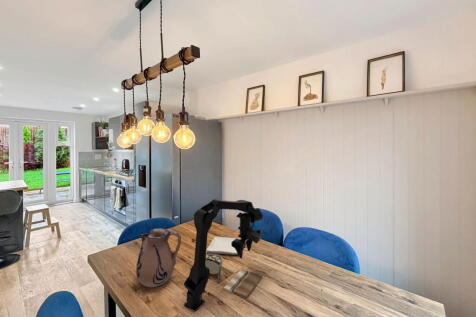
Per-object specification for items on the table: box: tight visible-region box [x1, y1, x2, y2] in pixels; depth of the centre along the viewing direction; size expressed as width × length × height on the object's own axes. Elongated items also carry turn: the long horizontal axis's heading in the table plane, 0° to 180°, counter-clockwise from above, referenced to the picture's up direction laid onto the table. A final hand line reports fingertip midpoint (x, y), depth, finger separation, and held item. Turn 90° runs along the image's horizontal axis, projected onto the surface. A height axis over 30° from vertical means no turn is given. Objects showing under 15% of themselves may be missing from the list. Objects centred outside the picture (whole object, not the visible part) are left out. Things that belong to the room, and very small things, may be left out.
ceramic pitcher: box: [135, 227, 182, 288], centre depth 108 cm, size 18×21×25 cm
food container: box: [205, 253, 224, 281], centre depth 114 cm, size 12×6×10 cm, turn 59°
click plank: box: [232, 271, 264, 299], centre depth 106 cm, size 18×7×1 cm, turn 151°
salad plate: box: [206, 236, 239, 256], centre depth 145 cm, size 21×21×3 cm
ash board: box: [223, 268, 249, 293], centre depth 109 cm, size 18×4×1 cm, turn 151°
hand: (245, 254), depth 112 cm, fingers open, 9 cm apart
